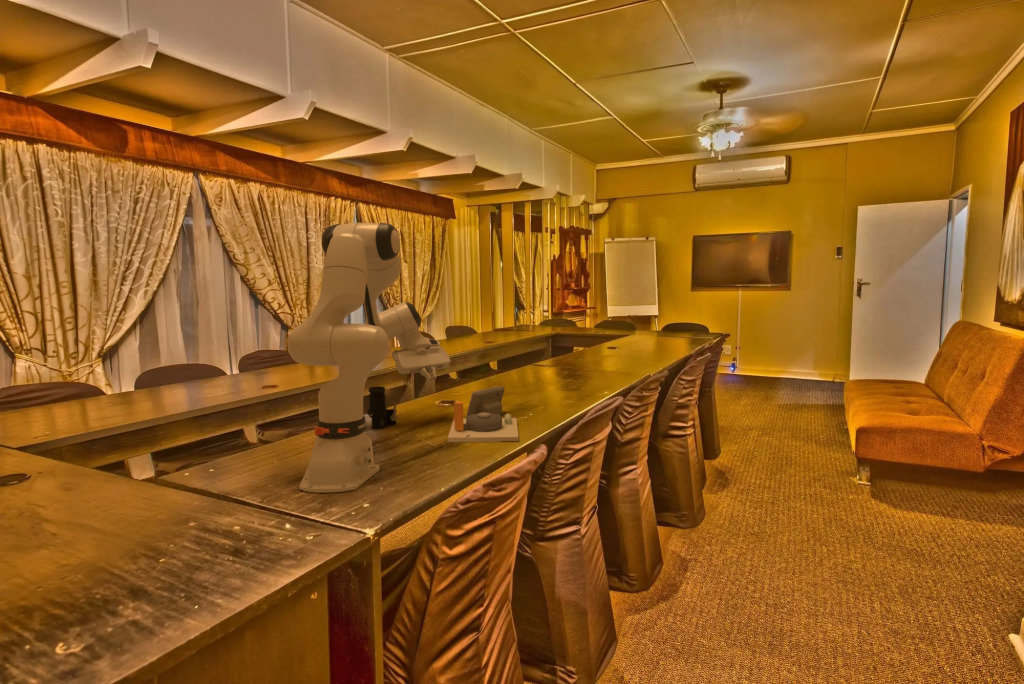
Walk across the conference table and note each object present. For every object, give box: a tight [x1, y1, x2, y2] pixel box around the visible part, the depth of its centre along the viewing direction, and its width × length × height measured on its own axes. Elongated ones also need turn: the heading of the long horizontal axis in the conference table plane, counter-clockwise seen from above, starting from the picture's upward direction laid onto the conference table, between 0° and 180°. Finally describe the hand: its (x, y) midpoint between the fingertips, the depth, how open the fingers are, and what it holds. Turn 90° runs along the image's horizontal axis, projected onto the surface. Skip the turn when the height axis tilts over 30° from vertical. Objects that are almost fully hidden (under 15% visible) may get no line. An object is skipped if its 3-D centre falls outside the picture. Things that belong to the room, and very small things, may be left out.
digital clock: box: [466, 385, 505, 417], centre depth 202 cm, size 16×9×11 cm, turn 126°
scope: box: [367, 386, 399, 430], centre depth 187 cm, size 8×14×10 cm
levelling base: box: [447, 412, 519, 443], centre depth 181 cm, size 24×22×4 cm
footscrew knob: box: [453, 401, 503, 431], centre depth 180 cm, size 16×12×9 cm
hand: (432, 379), depth 187 cm, fingers closed
